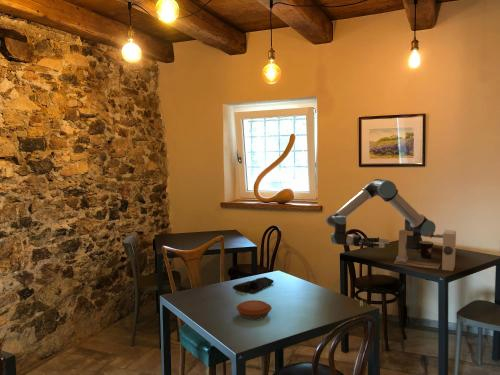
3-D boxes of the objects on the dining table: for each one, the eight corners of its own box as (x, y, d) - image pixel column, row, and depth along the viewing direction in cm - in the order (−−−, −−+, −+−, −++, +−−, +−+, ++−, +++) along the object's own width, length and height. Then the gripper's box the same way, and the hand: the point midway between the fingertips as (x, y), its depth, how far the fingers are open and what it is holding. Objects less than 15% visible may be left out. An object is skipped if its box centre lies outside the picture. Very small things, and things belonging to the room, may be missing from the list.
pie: (250, 325, 181) (250, 313, 181) (229, 313, 194) (229, 302, 193) (278, 316, 190) (278, 305, 190) (257, 306, 203) (257, 295, 202)
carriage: (398, 258, 282) (399, 229, 280) (413, 259, 278) (413, 230, 276) (396, 260, 276) (396, 231, 274) (411, 262, 272) (411, 232, 270)
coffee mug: (430, 255, 294) (431, 241, 293) (434, 259, 285) (435, 244, 284) (412, 255, 295) (413, 241, 294) (416, 258, 286) (416, 243, 286)
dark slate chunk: (278, 285, 234) (278, 276, 234) (251, 295, 218) (251, 286, 217) (257, 279, 244) (257, 271, 244) (229, 289, 228) (229, 280, 228)
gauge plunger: (430, 237, 270) (430, 232, 269) (447, 238, 265) (448, 233, 264) (429, 238, 267) (429, 233, 267) (447, 239, 262) (447, 234, 262)
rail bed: (397, 259, 284) (397, 257, 284) (440, 264, 272) (440, 262, 272) (393, 263, 275) (393, 261, 275) (438, 269, 262) (438, 267, 262)
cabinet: (444, 264, 271) (445, 230, 269) (454, 266, 268) (456, 230, 266) (441, 269, 260) (443, 233, 258) (452, 271, 257) (454, 234, 255)
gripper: (359, 242, 303) (390, 245, 293) (348, 249, 282) (382, 253, 271) (359, 231, 302) (391, 234, 292) (348, 238, 281) (382, 241, 270)
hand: (386, 243), depth 281 cm, fingers open, 13 cm apart
